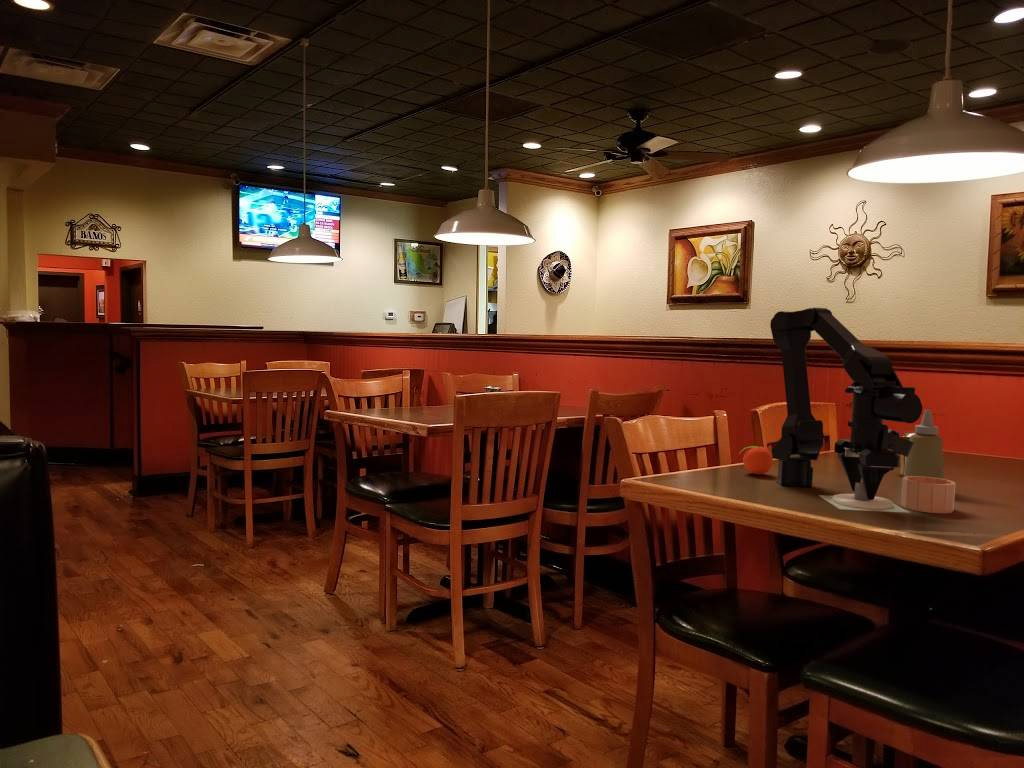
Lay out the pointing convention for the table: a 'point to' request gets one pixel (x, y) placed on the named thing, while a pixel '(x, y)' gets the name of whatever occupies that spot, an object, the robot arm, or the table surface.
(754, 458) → the clementine
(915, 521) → the table surface
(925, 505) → the bowl
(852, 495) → the lid
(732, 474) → the table surface
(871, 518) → the table surface
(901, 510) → the mat
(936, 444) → the squeeze bottle
